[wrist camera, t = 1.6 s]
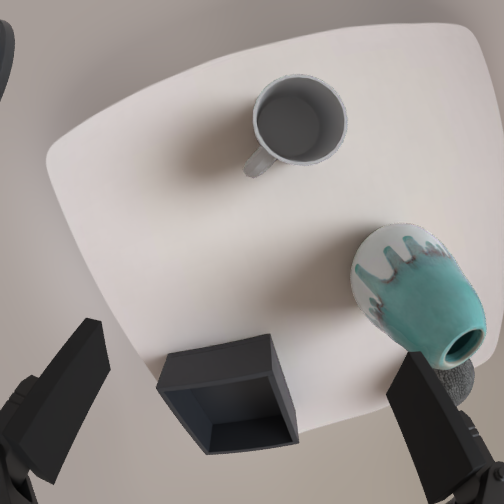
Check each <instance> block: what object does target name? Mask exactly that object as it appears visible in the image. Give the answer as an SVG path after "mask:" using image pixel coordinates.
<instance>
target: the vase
mask: <svg viewBox="0 0 504 504" xmlns="http://www.w3.org/2000/svg"><path fill="white" fill-rule="evenodd" d="M350 280H351V288H352V292H353V295H354V299H355V301H356V303H357V305H358V306H359V308H360V310H361V311H362V312H363V314H364V315H365V316H366V317H367V318H368V319H369V320H370V321H371V322H372V323H373V324H374V325H375V326H376V327H377V328H379V329H380V330H381V331H382V332H384V333H385V334H387V335H388V336H389V337H390V338H391V339H392V340H394V341H395V342H396V343H398V344H399V345H401V346H402V347H404V348H405V349H406V350H407V351H408V352H416V351H421V352H422V354H423V355H424V357H425V358H426V360H427V361H428V363H429V364H430V366H431V367H432V368H435V369H439V370H449V369H452V368H454V367H457V366H459V365H460V364H462V363H464V362H465V361H466V360H468V359H469V358H470V357H471V356H472V355H473V354H474V353H475V352H476V351H477V350H478V349H479V348H480V346H481V345H482V343H483V341H484V338H485V336H486V318H485V313H484V309H483V306H482V303H481V301H480V299H479V297H478V295H477V293H476V291H475V290H474V288H473V287H472V285H471V284H470V282H469V281H468V279H467V278H466V276H465V275H464V274H463V272H462V270H461V269H460V267H459V265H458V264H457V262H456V260H455V258H454V257H453V256H452V254H451V253H450V252H449V251H448V249H447V248H446V247H445V246H444V244H443V243H442V242H441V241H440V240H439V239H437V238H436V237H435V236H434V235H433V234H431V233H430V232H428V231H427V230H426V229H424V228H423V227H421V226H418V225H414V224H410V223H394V224H389V225H386V226H383V227H381V228H379V229H377V230H376V231H374V232H373V233H372V234H370V235H369V236H368V237H367V238H366V239H365V240H364V241H363V243H362V244H361V245H360V247H359V248H358V250H357V252H356V254H355V256H354V259H353V262H352V267H351V275H350Z"/></svg>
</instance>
